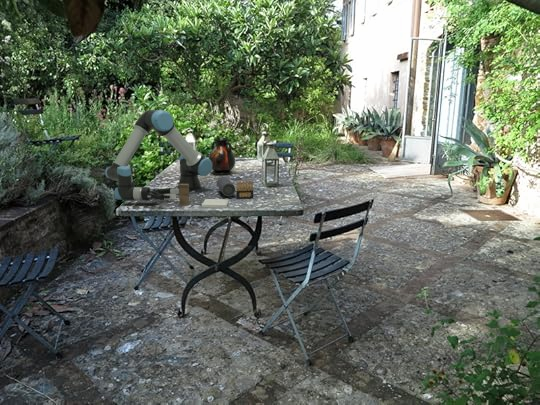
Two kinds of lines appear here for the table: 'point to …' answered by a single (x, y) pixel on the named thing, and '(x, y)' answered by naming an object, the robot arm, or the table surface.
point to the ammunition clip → (244, 190)
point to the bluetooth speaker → (226, 186)
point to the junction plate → (215, 203)
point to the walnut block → (184, 194)
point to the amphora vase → (222, 157)
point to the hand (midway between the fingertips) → (178, 194)
